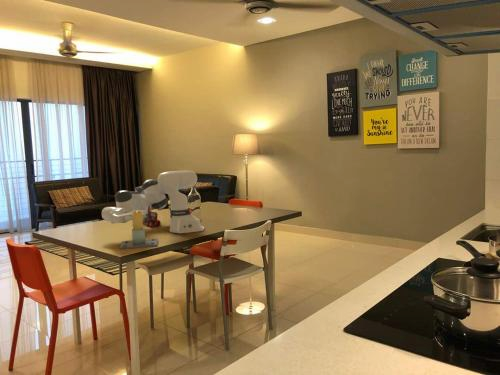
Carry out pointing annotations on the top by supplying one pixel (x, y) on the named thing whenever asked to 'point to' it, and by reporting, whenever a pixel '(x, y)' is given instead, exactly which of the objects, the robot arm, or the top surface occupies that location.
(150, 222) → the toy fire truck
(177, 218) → the robot arm
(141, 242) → the tower base
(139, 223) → the round brick
